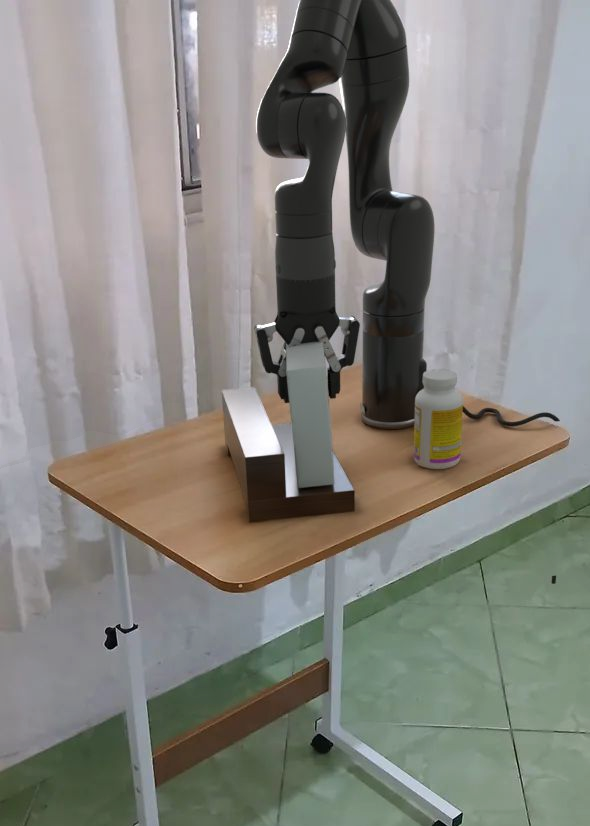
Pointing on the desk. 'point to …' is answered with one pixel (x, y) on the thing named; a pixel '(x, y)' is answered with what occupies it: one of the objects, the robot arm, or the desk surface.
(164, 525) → the desk surface
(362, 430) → the desk surface
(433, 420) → the supplement bottle
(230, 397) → the metal step block
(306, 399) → the skincare box
